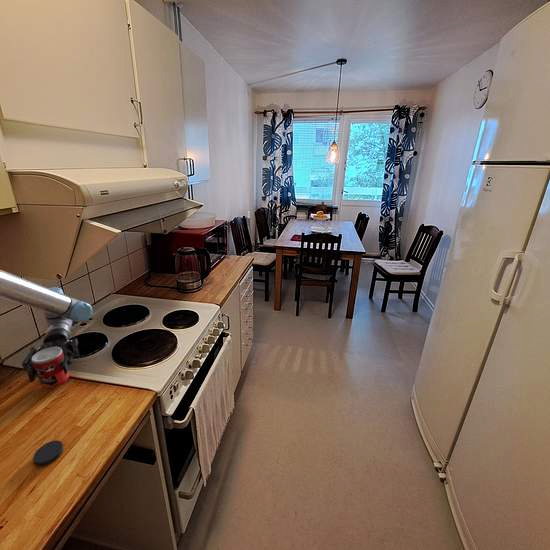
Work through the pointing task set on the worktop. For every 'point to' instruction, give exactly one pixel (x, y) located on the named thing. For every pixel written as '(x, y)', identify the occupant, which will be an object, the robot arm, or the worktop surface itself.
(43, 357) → the canned food
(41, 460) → the pad
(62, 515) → the worktop surface
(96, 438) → the worktop surface
